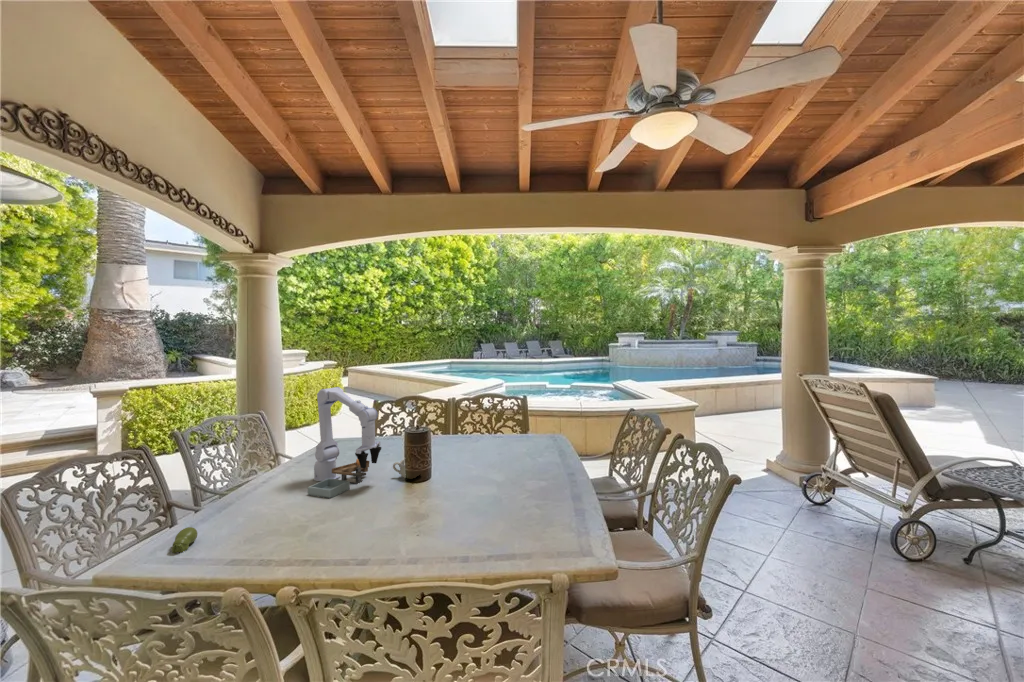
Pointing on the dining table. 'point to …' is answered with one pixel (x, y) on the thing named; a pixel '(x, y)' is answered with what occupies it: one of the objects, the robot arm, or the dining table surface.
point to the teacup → (402, 468)
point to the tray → (328, 488)
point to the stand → (354, 481)
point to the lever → (351, 469)
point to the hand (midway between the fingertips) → (368, 465)
